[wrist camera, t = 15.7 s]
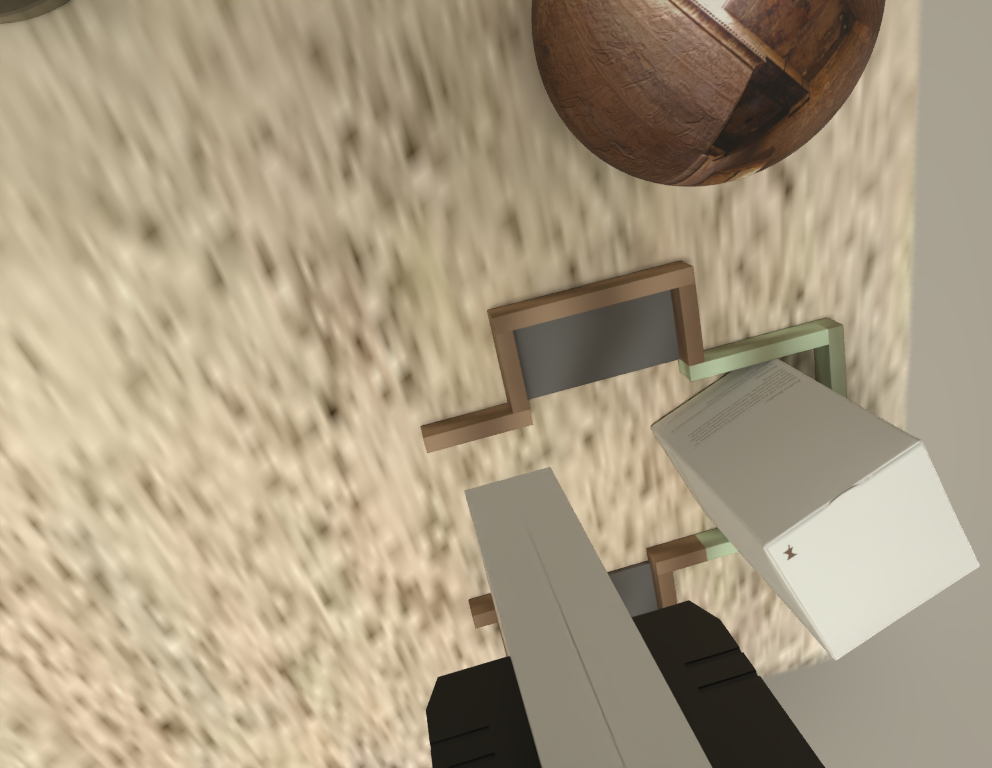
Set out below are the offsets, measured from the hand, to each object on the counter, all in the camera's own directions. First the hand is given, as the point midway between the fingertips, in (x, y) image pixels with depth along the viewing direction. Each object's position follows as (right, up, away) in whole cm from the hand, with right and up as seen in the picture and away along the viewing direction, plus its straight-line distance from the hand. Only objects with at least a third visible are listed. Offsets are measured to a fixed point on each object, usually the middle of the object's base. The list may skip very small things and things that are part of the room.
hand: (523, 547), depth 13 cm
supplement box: (+15, -1, +38) cm, 41 cm away
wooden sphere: (+7, +22, +29) cm, 37 cm away
